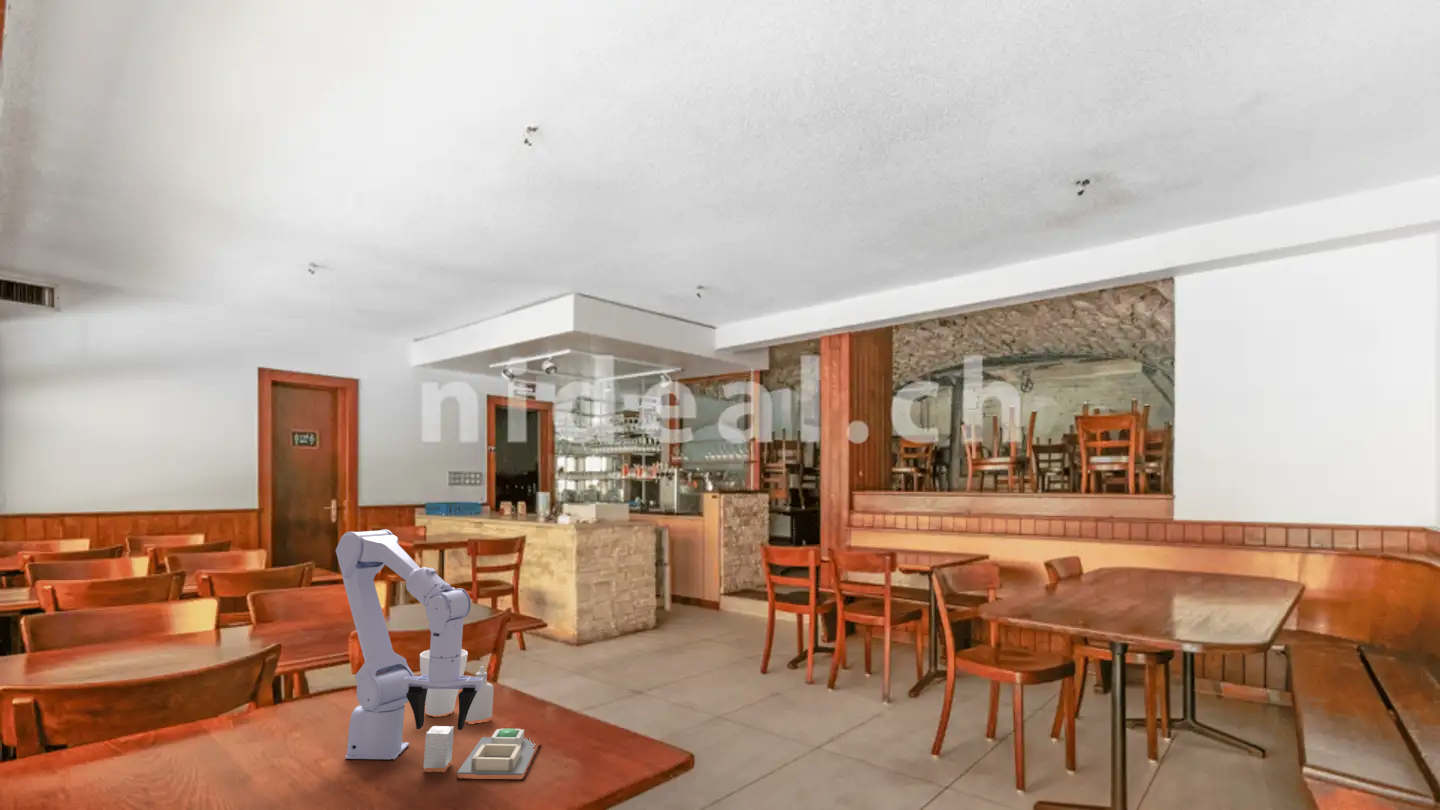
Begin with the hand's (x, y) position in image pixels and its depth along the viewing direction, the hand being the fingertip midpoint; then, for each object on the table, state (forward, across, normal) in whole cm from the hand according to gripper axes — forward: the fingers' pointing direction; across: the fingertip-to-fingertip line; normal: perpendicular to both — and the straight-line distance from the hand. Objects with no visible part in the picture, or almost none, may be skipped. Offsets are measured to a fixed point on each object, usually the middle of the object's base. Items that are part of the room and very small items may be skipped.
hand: (440, 727), depth 142 cm
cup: (+8, +9, -31) cm, 33 cm away
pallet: (+7, -11, -4) cm, 14 cm away
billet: (+7, 0, 0) cm, 7 cm away
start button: (+6, -11, -9) cm, 15 cm away
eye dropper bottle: (+8, -1, -26) cm, 27 cm away
